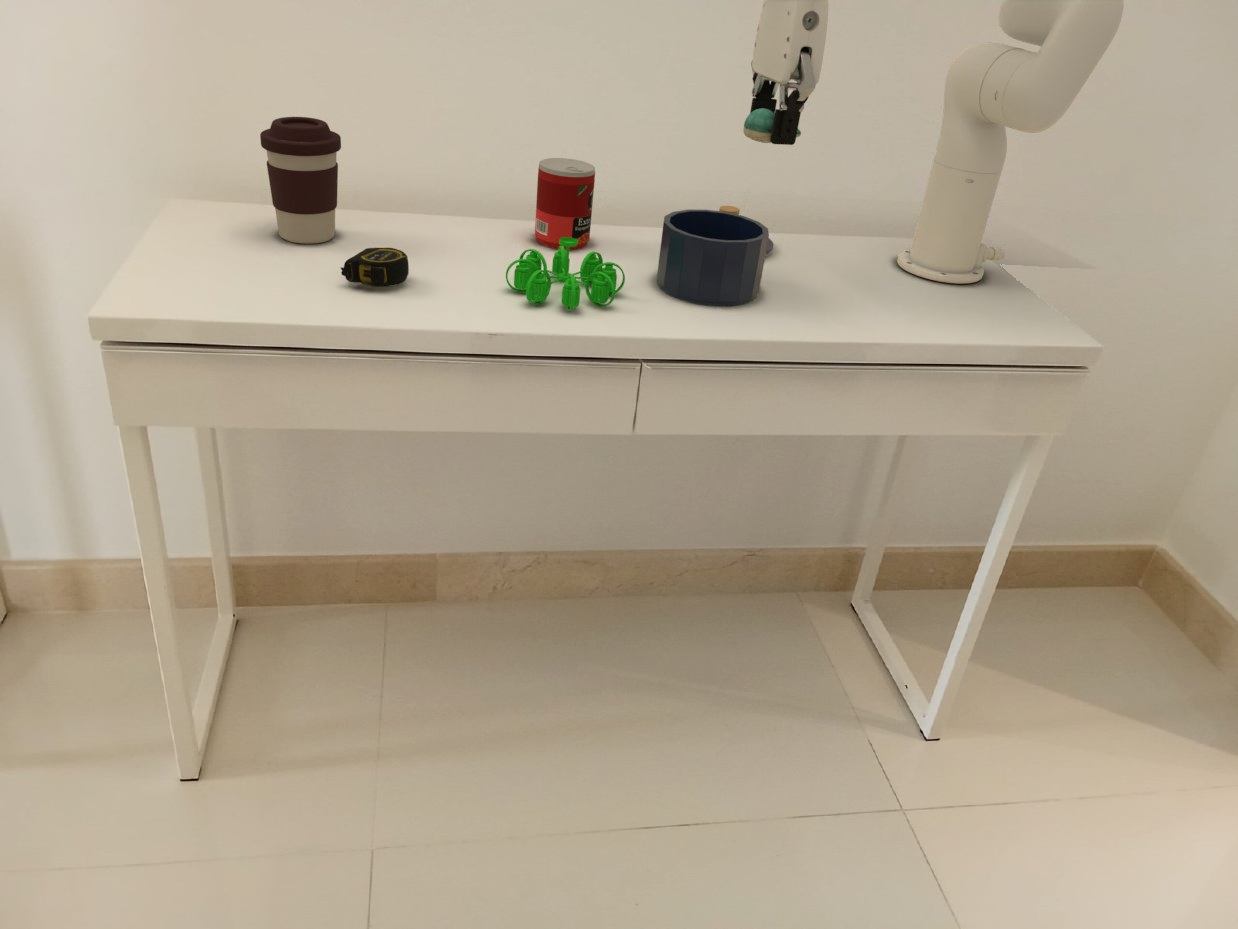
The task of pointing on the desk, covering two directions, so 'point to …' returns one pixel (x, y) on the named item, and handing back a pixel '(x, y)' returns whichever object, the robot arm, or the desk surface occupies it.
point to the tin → (711, 257)
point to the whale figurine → (760, 125)
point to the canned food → (564, 201)
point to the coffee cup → (303, 177)
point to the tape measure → (377, 267)
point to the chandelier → (565, 276)
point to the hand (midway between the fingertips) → (770, 135)
